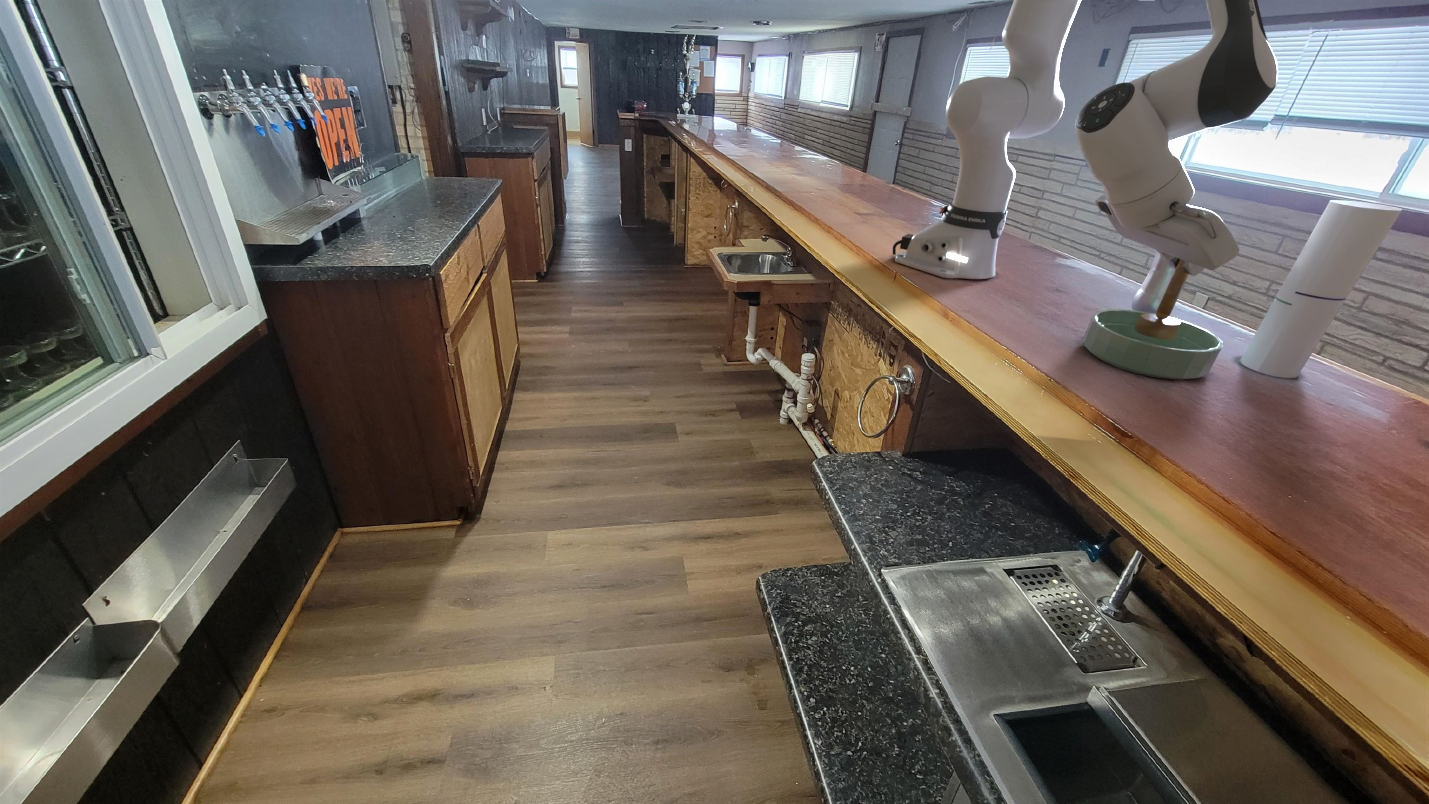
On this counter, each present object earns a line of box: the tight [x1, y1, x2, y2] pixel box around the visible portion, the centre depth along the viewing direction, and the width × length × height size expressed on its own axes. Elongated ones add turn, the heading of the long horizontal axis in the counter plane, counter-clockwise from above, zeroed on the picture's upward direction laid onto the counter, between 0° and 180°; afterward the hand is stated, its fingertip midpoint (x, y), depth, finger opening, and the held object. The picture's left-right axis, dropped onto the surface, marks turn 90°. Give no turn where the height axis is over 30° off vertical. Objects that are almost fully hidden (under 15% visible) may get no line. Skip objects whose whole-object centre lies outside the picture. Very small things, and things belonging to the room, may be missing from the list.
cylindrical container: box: [1239, 199, 1403, 379], centre depth 84 cm, size 7×7×25 cm
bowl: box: [1082, 308, 1224, 380], centre depth 90 cm, size 17×17×5 cm
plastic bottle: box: [1130, 250, 1175, 314], centre depth 104 cm, size 6×7×20 cm
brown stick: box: [1135, 259, 1190, 340], centre depth 85 cm, size 5×5×18 cm
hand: (1187, 268), depth 84 cm, fingers closed on brown stick
